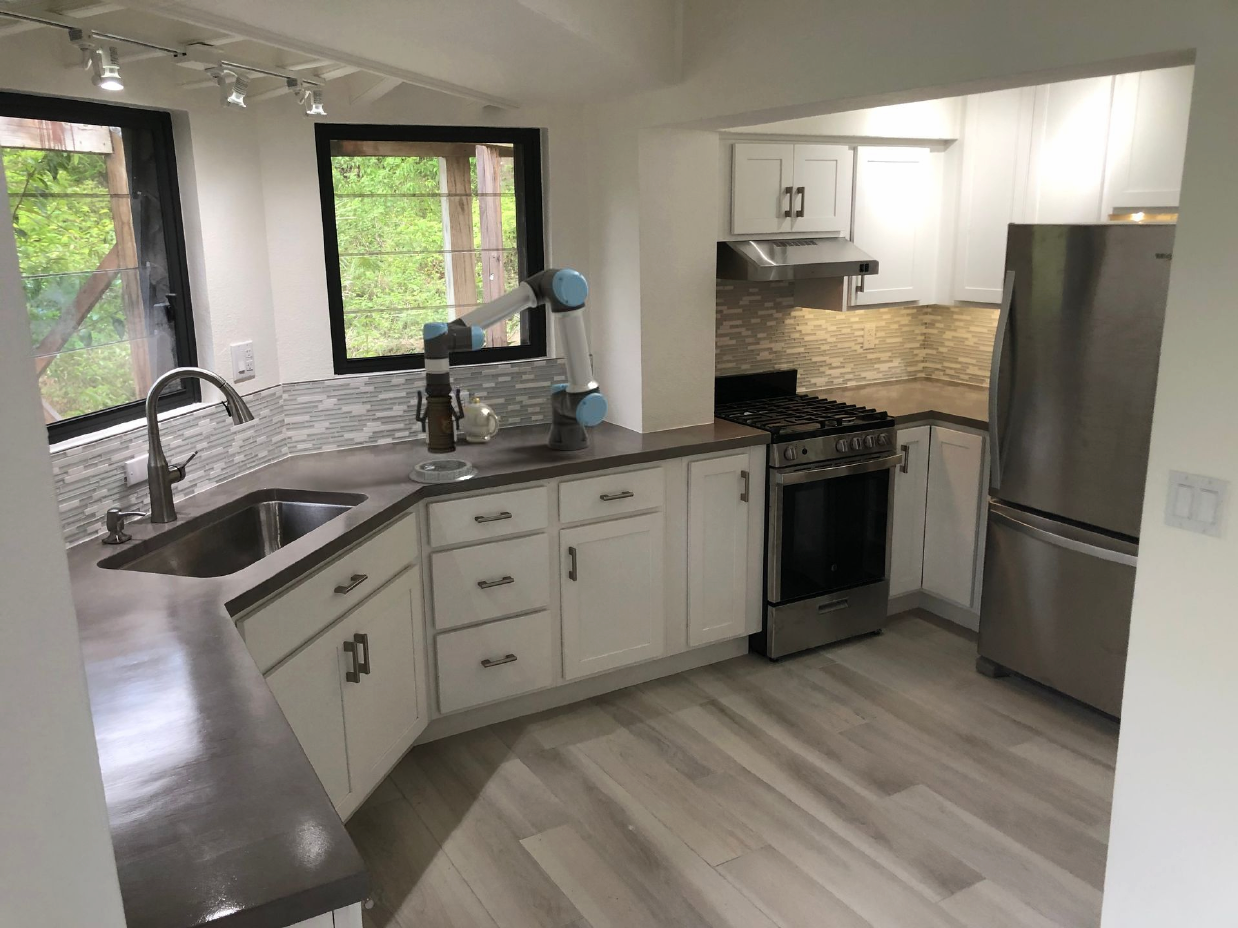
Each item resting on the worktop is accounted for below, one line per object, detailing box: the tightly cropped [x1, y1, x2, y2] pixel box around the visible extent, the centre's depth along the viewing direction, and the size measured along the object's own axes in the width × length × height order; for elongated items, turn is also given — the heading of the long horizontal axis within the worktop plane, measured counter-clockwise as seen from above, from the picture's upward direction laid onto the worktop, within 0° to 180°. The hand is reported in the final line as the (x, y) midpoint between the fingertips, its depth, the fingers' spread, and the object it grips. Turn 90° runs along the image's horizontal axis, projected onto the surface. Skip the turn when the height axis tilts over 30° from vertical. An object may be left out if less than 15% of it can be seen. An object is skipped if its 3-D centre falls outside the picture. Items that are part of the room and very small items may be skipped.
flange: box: [409, 458, 479, 485], centre depth 316 cm, size 22×22×3 cm
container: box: [425, 394, 457, 455], centre depth 312 cm, size 9×9×18 cm
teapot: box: [459, 397, 500, 444], centre depth 362 cm, size 18×14×16 cm
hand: (441, 441), depth 314 cm, fingers closed on container, 8 cm apart
